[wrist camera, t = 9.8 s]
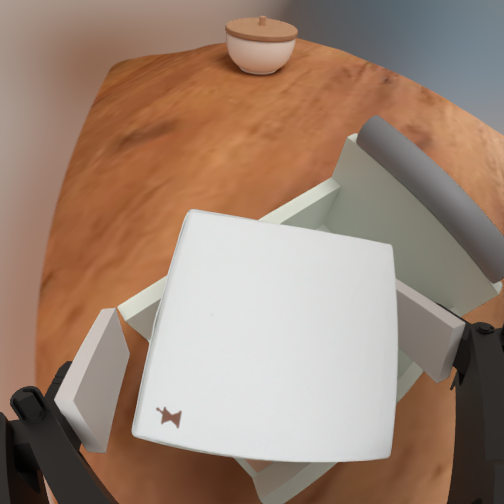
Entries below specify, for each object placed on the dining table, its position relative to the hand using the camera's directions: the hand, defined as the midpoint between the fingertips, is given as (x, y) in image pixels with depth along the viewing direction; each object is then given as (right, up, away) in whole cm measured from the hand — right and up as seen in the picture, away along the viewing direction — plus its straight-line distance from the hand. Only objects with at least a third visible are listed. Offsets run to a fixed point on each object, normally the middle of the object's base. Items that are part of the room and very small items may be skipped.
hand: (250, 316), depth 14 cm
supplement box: (0, -5, +5) cm, 7 cm away
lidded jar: (+1, +33, +27) cm, 42 cm away
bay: (+3, -3, +7) cm, 8 cm away
